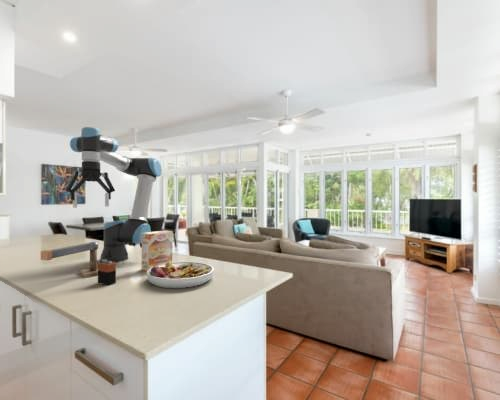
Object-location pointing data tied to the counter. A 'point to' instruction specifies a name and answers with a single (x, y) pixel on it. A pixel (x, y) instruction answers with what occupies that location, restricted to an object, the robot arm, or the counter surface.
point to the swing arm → (68, 250)
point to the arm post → (91, 265)
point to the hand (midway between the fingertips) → (91, 207)
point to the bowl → (180, 274)
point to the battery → (106, 272)
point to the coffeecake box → (156, 249)
